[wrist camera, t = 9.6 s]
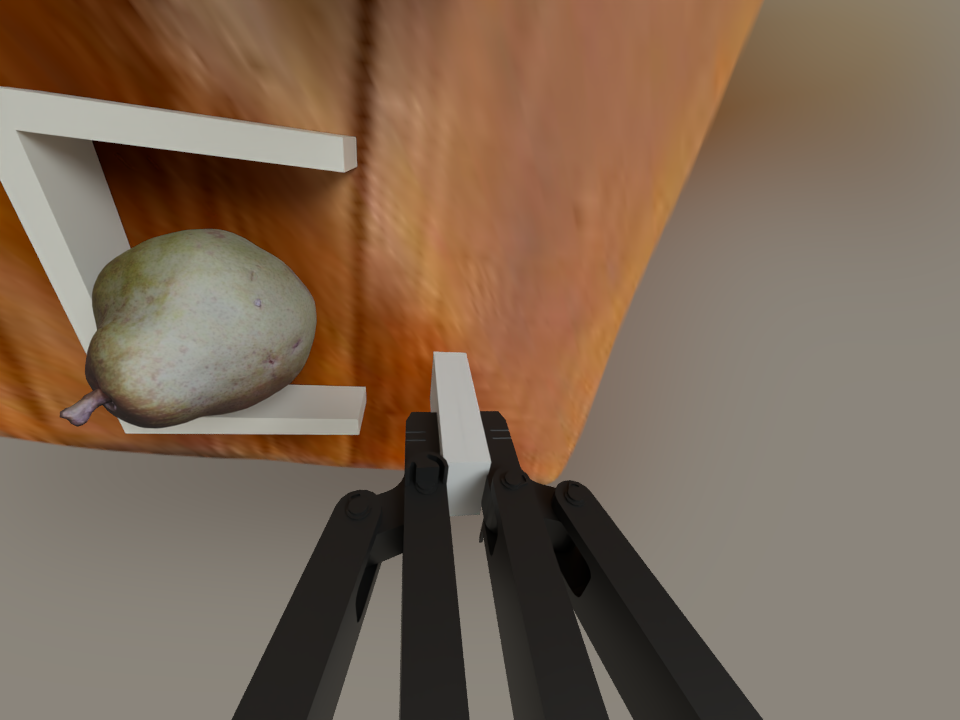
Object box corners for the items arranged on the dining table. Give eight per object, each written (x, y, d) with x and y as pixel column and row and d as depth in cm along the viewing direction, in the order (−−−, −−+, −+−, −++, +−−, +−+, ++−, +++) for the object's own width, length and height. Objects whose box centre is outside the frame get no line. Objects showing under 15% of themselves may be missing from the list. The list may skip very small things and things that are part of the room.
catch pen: (162, 396, 28) (125, 433, 24) (39, 90, 18) (-50, 80, 15) (366, 401, 30) (358, 434, 27) (355, 137, 21) (342, 137, 17)
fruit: (133, 278, 23) (-95, 391, 13) (222, 173, 21) (30, 210, 11) (276, 375, 28) (192, 511, 18) (361, 299, 26) (320, 405, 16)
